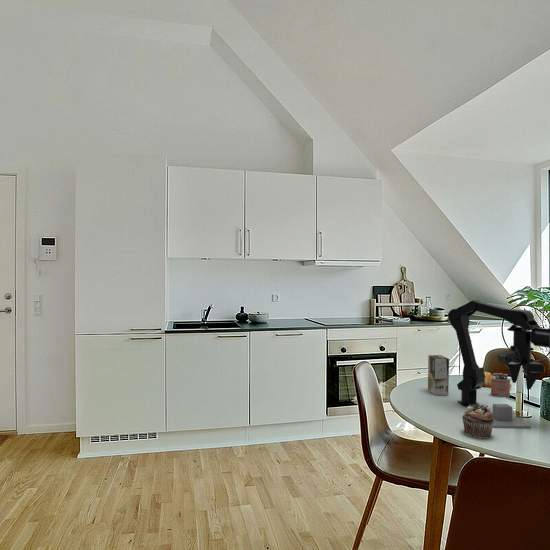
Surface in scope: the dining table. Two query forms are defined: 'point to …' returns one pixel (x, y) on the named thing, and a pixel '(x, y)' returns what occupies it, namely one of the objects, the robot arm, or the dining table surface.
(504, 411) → the plug
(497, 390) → the lighter
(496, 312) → the robot arm
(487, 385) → the croissant
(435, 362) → the coffee box
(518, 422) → the coaster
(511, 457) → the dining table surface
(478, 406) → the cupcake
